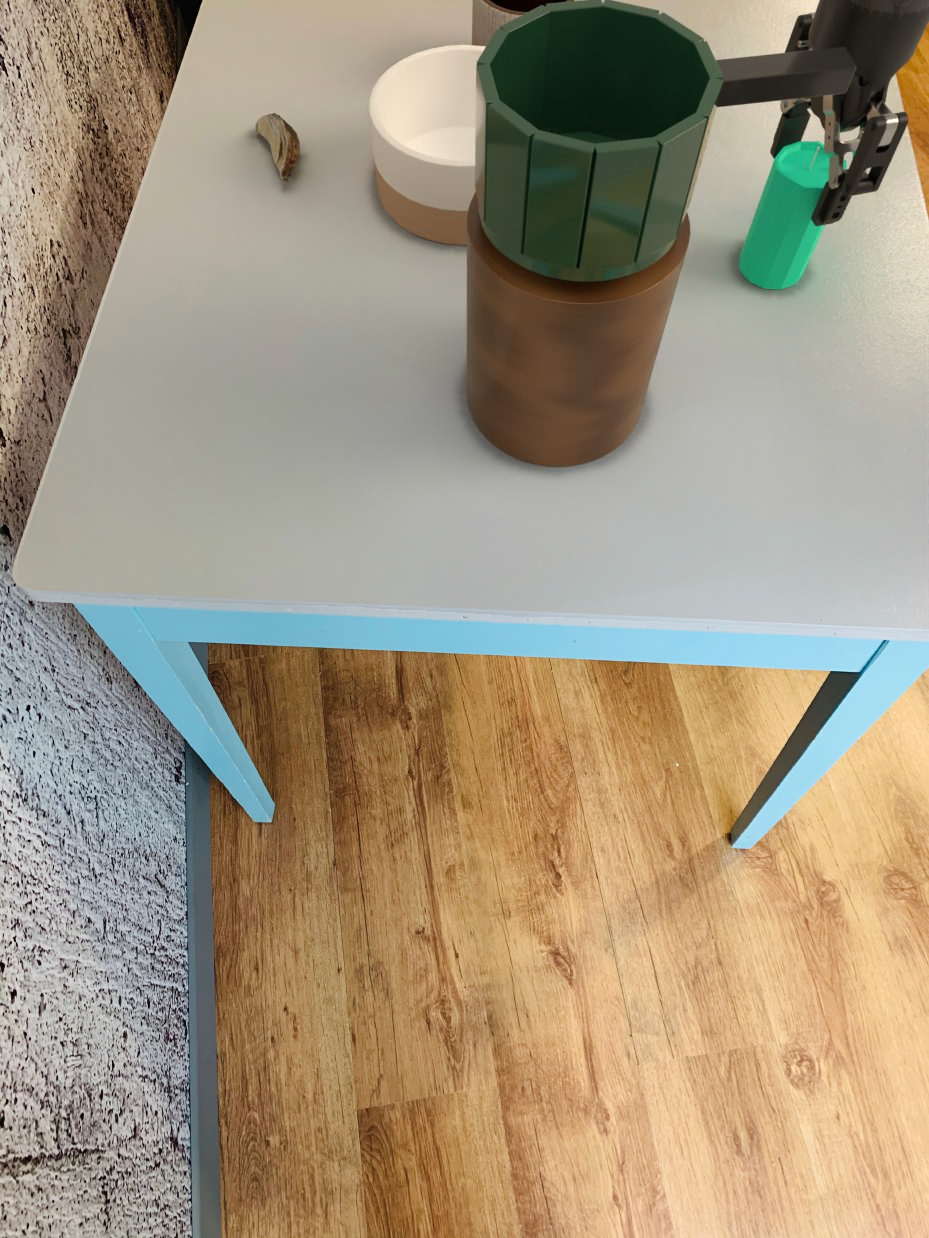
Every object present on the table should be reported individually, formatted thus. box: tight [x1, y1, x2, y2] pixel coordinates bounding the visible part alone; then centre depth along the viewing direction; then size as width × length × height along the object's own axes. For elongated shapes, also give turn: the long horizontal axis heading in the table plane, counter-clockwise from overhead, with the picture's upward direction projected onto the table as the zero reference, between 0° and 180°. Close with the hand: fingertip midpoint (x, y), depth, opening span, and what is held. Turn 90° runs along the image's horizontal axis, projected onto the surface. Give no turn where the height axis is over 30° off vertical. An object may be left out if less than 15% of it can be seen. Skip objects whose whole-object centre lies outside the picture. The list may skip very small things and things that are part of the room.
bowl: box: [368, 44, 485, 246], centre depth 81 cm, size 17×17×8 cm
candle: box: [738, 140, 848, 291], centre depth 74 cm, size 6×6×12 cm
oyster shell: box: [254, 112, 301, 184], centre depth 85 cm, size 6×4×10 cm
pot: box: [475, 0, 856, 282], centre depth 52 cm, size 22×14×9 cm, turn 99°
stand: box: [466, 192, 691, 468], centre depth 65 cm, size 15×15×18 cm
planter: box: [471, 0, 581, 47], centre depth 87 cm, size 11×11×10 cm
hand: (801, 188), depth 72 cm, fingers open, 8 cm apart
